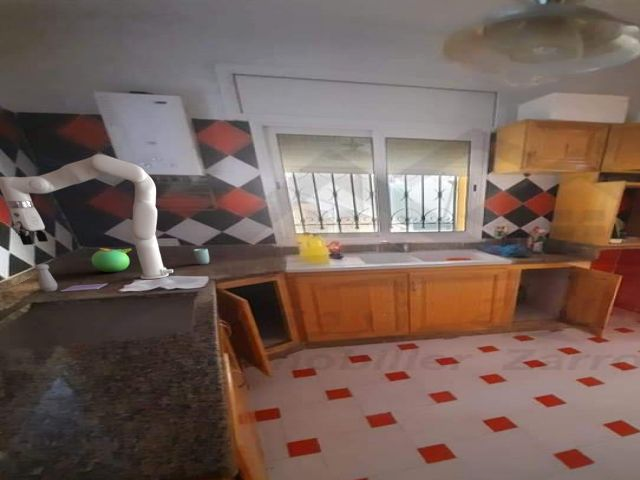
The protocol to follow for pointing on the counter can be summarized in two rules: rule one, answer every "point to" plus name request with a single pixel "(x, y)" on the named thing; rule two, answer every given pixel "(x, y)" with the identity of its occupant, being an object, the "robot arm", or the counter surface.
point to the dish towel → (84, 287)
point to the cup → (201, 256)
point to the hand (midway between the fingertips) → (36, 243)
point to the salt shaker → (45, 278)
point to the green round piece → (111, 260)
